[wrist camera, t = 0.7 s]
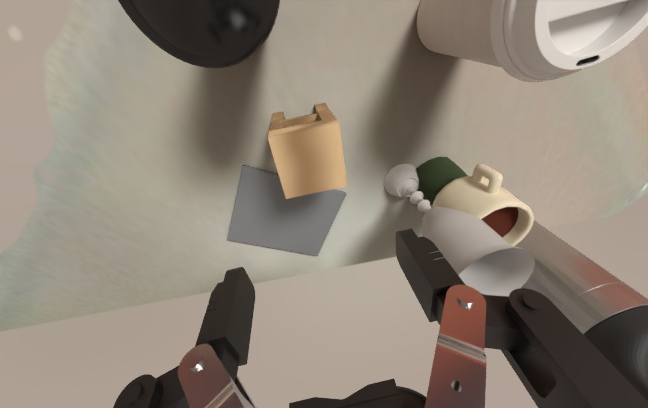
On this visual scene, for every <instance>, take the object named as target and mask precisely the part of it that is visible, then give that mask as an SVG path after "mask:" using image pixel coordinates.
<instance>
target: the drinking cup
mask: <svg viewBox="0 0 648 408" xmlns="http://www.w3.org/2000/svg"><path fill="white" fill-rule="evenodd" d="M118 1H119V2H120V4H121V5H122V7H123V9H124V10H125V12H126V13H127V14H128V16H129V17H130V18H131V20H132V21H133V22H134V23H135V24H136V26H137V27H138V28H139V29H140V30H141V31H142V32H143V33H144V34H145V35H146V36H147V37H148V38H149V39H150V40H151V41H152V42H153V43H155V44H156V45H157V46H158V47H160V48H161V49H162V50H164V51H166V52H167V53H169V54H170V55H172V56H174V57H176V58H177V59H180V60H182V61H184V62H187V63H189V64H192V65H196V66H200V67H206V68H223V67H229V66H233V65H236V64H238V63H241V62H243V61H245V60H246V59H248V58H250V57H251V56H252V55H254V54H255V53H256V52H257V51H258V50H259V49H260V48H261V46H262V45H263V44H264V43H265V41H266V40H267V38H268V37H269V35H270V33H271V31H272V29H273V26H274V24H275V21H276V17H277V14H278V9H279V3H280V0H118Z"/></svg>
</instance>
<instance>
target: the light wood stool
mask: <svg viewBox="0 0 648 408" xmlns="http://www.w3.org/2000/svg"><path fill="white" fill-rule="evenodd" d="M314 106H315V111H316V113H315V114H310V115H305V116H301V117H296V118H291V119H286V120H285V117H284V113H283V112H278V113H273V115H272V119H271V124H270V129H269V134H268V141H269V144H270V148H271V151H272V154H273V158H274V161H275V164H276V168H277V171H278V174H279V178H280V181H281V184H282V187H283V191H284V194H285V197H286V199H289V198H293V197H298V196H303V195H308V194H312V193H317V192H322V191H326V190H331V189H336V188H340V187H345V186H347V179H346V171H345V163H344V156H343V148H342V140H341V133H340V125H339V122H338V121H337V119H336V118H335V117H334V115H333V114H332V112H331V111H330V110H329V108H328V107H327V105H326V104H325V103H322V104H317V105H314ZM313 121H316V122H313ZM308 122H311V123H308ZM303 123H306V124H303ZM298 124H301V125H298ZM294 125H297V126H294ZM289 126H292V127H289ZM286 127H287V128H286Z"/></svg>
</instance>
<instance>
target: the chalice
mask: <svg viewBox="0 0 648 408" xmlns="http://www.w3.org/2000/svg"><path fill="white" fill-rule="evenodd" d="M416 171H417V169H416V167H415V166H413V165H411V164H407V163H404V164H399V165H397V166H394V167H393V168H392V169H391V170H389V172H388V173H387V174H386V177H385V179H384V187H385V190H386V191H387V192H388V193H389V194H391V195H395V196H398V197H401V198H406V197H409V196H410V202H411V203H413V204H417V205H418V206H417V209H418V211H421V212H424V213H425V214H424V216H423V218H422V233H423V236H424V237H426V238H427V239H429V240H431V241H432V242H433V243H434V244H435V245H436V247H437V248H438V249H439V251H440V252H441V253H442V254H443V256H444V258H446V260H447V261H448V262H449V264H450V265H451V266H452V268H453V269H454V270H455V272H456V273H457V274H458V276H459V277H460V278H461V279H462V281H463V282H464V283H465V284H466V285H467V286H470V287H472V288H474V289H476V290H477V291H479V292H480V293H481V294H485V295H495V296H509V295H510V293H511V292H512V291H513V290H515V289H519V288H521V287H522V286H523V285H524V284H525V283H526V282H527V280H528V279H529V277H530V276H531V274H532V272H533V270H534V265H535V260H534V257H533V254H532V253H530V252H529V251H527V250H526V249H523V248H519V247H516V246H512V245H510V244H509V243H508V242H507V241H505V240H504V239H503V238H502V237H501V236H500V235H499V234H497V233H496V232H495V231H494V230H493V229H492V228H491V227H489V226H488V225H487V224H486V223H485V222H484V221H483V220H481V219H480V218H478V217H477V216H474V215H471V214H468V213H466V212H463V211H460V210H454V209H449V208H444V207H434V208H431V206H430V202H429V201H428V200H424V199H423V193H422V192H420V191H417V189H418V187H419V178H418V177H417V172H416Z"/></svg>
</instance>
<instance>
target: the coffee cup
mask: <svg viewBox="0 0 648 408" xmlns="http://www.w3.org/2000/svg"><path fill="white" fill-rule="evenodd" d="M647 26H648V0H421V2H420V5H419V8H418V13H417V32H418V36H419V38H420V41H421V42H422V44H423V45H424V46H425V47H426V48H427V49H429V50H430V51H433V52H436V53H441V54H445V55H450V56H454V57H459V58H463V59H468V60H472V61H476V62H481V63H485V64H489V65H494V66H498V67H502V68H503V69H504V70H505V71H506V72H507V73H508V74H509V75H511V76H512V77H514V78H516V79H519V80H522V81H526V82H541V81H547V80H553V79H557V78H561V77H564V76H567V75H570V74H572V73H575V72H577V71H579V70H581V69H583V68H587V67H590V66H593V65H595V64H598V63H600V62H602V61H604V60H606V59H607V58H609V57H611V56H612V55H614V54H615V53H617V52H618V51H620V50H621V49H623V48H624V47H625V46H626V45H628V44H629V43H630V42H631V41H632V40H633V39H635V38H636V37H637V36H638V35H639V34H640V33H641V32H642V31H643V30H644V29H645V28H646V27H647Z"/></svg>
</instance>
